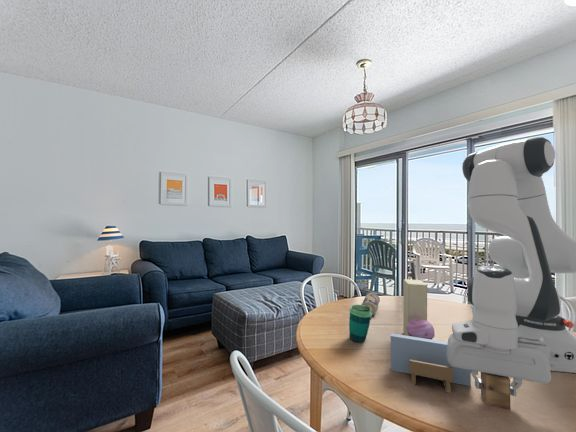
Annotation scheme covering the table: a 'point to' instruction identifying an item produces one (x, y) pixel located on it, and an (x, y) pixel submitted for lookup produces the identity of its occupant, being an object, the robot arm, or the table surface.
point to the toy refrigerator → (414, 302)
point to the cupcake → (420, 329)
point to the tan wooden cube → (496, 390)
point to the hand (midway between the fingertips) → (494, 390)
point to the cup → (359, 322)
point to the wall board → (425, 360)
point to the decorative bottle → (371, 302)
